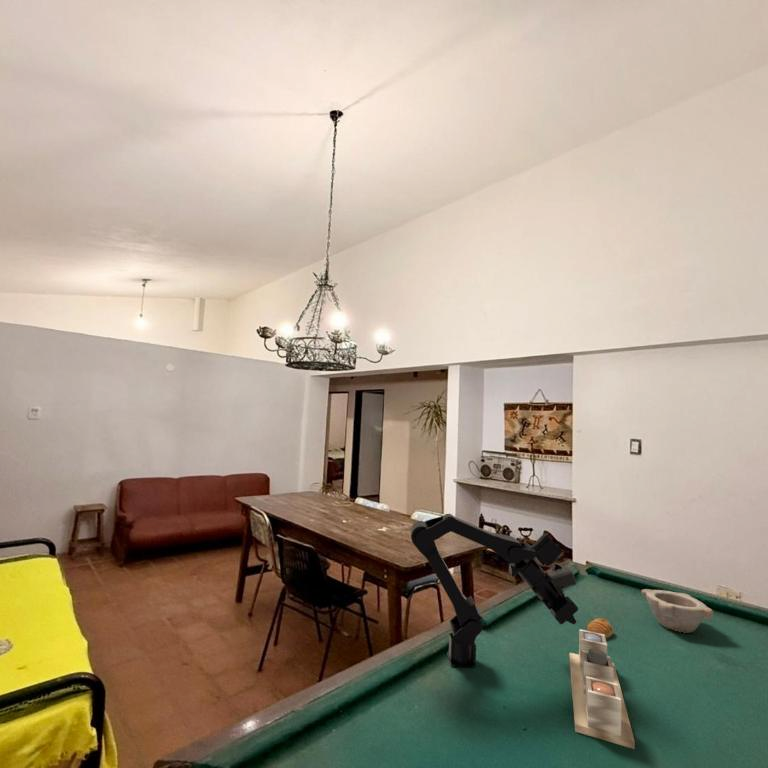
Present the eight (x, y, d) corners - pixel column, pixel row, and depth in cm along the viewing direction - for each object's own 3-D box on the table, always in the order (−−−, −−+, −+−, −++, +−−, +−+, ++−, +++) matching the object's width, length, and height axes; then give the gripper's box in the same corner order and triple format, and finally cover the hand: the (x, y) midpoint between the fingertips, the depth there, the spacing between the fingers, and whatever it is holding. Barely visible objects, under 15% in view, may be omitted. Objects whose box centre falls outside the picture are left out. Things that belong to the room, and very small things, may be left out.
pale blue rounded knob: (584, 656, 113) (585, 638, 113) (583, 649, 116) (584, 632, 117) (601, 660, 111) (601, 642, 111) (600, 652, 115) (600, 635, 115)
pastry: (604, 644, 128) (604, 631, 128) (581, 635, 133) (581, 622, 133) (614, 634, 134) (614, 621, 135) (592, 626, 139) (592, 614, 140)
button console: (575, 731, 90) (575, 689, 91) (569, 658, 119) (570, 626, 119) (634, 749, 86) (634, 704, 87) (613, 668, 115) (614, 635, 115)
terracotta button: (593, 712, 90) (593, 690, 91) (591, 701, 94) (591, 680, 94) (614, 718, 89) (614, 696, 89) (611, 707, 93) (612, 685, 93)
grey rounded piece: (588, 674, 102) (588, 655, 102) (587, 665, 105) (587, 647, 106) (607, 679, 100) (607, 659, 100) (605, 670, 104) (605, 651, 104)
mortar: (688, 618, 149) (688, 591, 150) (719, 642, 132) (718, 612, 133) (637, 612, 151) (637, 585, 152) (660, 635, 135) (660, 605, 136)
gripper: (571, 569, 107) (614, 619, 105) (545, 547, 125) (581, 589, 124) (538, 599, 106) (581, 649, 105) (517, 572, 125) (553, 614, 124)
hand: (574, 622), depth 114 cm, fingers closed
